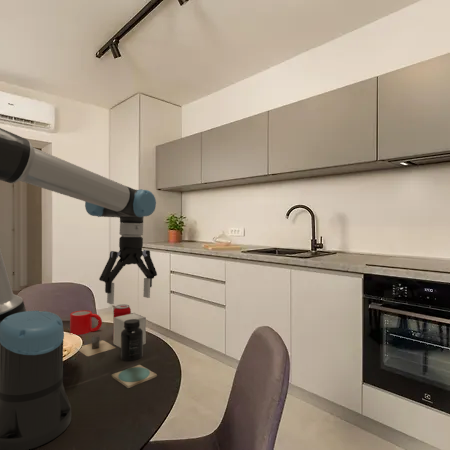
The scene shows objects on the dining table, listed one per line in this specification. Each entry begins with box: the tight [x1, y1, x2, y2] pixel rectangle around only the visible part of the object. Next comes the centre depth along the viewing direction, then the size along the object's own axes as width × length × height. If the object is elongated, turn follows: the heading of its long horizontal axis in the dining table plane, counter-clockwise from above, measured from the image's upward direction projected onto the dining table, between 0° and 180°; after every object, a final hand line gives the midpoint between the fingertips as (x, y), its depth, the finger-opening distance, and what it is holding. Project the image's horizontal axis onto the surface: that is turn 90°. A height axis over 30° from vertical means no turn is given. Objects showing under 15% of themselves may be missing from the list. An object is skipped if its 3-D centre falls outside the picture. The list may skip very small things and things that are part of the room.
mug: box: [69, 309, 103, 336], centre depth 125 cm, size 8×12×8 cm, turn 96°
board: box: [78, 334, 117, 357], centre depth 108 cm, size 10×10×5 cm
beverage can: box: [112, 304, 132, 337], centre depth 120 cm, size 6×6×12 cm
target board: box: [111, 364, 158, 389], centre depth 90 cm, size 9×9×1 cm
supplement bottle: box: [120, 319, 144, 362], centre depth 102 cm, size 7×7×12 cm
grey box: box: [112, 312, 147, 349], centre depth 112 cm, size 8×8×10 cm
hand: (129, 300), depth 105 cm, fingers open, 13 cm apart
